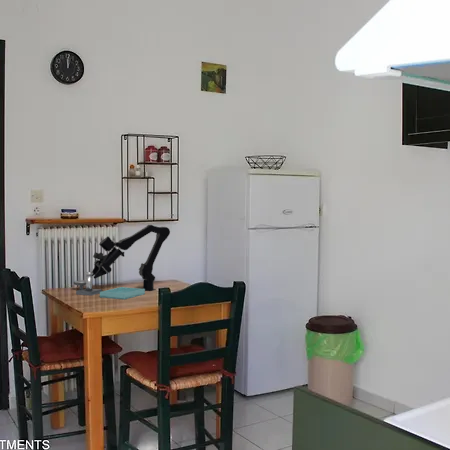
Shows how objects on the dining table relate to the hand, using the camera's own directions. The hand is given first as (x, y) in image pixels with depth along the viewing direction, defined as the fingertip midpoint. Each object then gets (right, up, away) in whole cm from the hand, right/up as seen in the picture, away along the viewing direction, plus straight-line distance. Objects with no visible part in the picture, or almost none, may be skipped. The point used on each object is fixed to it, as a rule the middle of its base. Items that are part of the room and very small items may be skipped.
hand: (92, 277), depth 322 cm
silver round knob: (-10, -9, +14) cm, 19 cm away
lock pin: (-2, -9, 0) cm, 9 cm away
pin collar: (-2, -9, 0) cm, 9 cm away
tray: (+18, -10, -7) cm, 22 cm away
